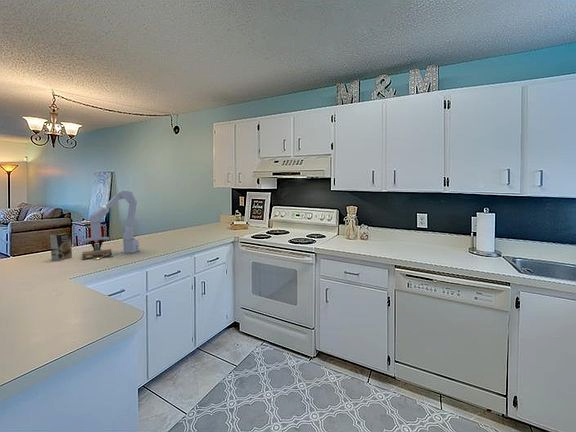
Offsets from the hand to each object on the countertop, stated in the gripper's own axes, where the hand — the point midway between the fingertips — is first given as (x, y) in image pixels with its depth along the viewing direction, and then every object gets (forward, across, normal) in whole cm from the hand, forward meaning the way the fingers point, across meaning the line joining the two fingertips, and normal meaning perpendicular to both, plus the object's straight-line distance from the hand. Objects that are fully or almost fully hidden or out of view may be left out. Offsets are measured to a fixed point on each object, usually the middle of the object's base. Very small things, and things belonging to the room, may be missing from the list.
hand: (97, 251), depth 205 cm
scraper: (+2, 0, +5) cm, 6 cm away
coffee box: (+2, +19, +2) cm, 19 cm away
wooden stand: (+2, 0, +10) cm, 10 cm away
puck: (+2, 0, +16) cm, 16 cm away
